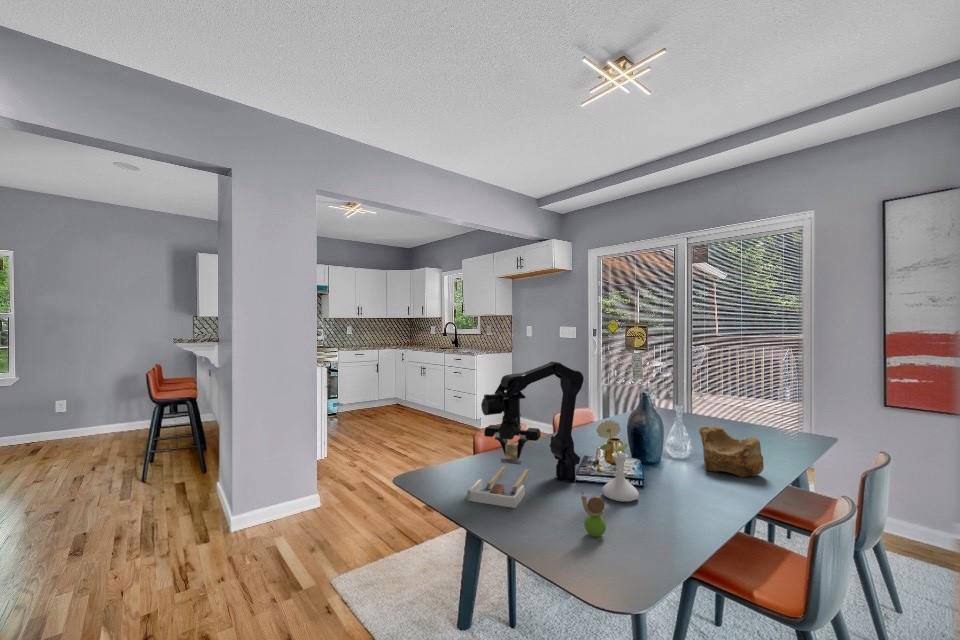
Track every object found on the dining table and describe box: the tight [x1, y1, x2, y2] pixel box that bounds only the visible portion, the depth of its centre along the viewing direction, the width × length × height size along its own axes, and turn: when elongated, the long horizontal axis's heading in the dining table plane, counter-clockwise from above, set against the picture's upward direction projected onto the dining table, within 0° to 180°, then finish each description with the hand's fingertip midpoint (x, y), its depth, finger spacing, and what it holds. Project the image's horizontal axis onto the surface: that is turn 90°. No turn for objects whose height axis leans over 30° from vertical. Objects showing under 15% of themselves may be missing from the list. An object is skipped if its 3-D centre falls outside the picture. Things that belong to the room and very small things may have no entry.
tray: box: [466, 478, 526, 509], centre depth 136 cm, size 16×11×3 cm
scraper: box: [500, 441, 522, 466], centre depth 143 cm, size 7×5×6 cm, turn 69°
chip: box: [489, 487, 502, 495], centre depth 135 cm, size 3×3×3 cm
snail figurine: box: [580, 490, 607, 538], centre depth 111 cm, size 5×6×12 cm
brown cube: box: [492, 483, 505, 495], centre depth 138 cm, size 3×3×3 cm
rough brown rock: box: [698, 426, 765, 478], centre depth 159 cm, size 23×16×15 cm
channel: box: [486, 465, 530, 494], centre depth 149 cm, size 10×18×2 cm, turn 159°
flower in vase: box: [595, 419, 640, 503], centre depth 135 cm, size 13×11×25 cm
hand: (512, 457), depth 143 cm, fingers closed on scraper, 4 cm apart
